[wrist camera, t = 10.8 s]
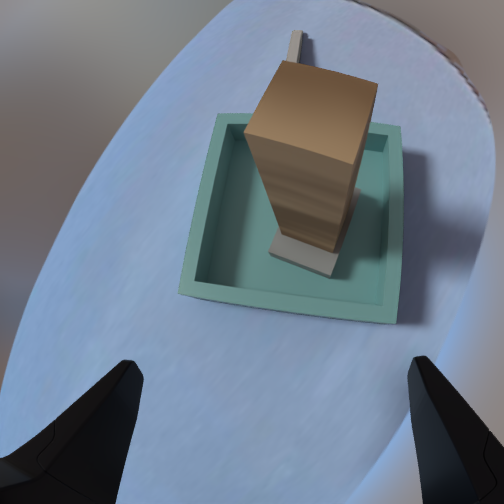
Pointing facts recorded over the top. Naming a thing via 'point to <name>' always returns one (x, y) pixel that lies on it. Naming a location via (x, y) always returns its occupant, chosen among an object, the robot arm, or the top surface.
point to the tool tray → (265, 226)
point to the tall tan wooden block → (311, 159)
